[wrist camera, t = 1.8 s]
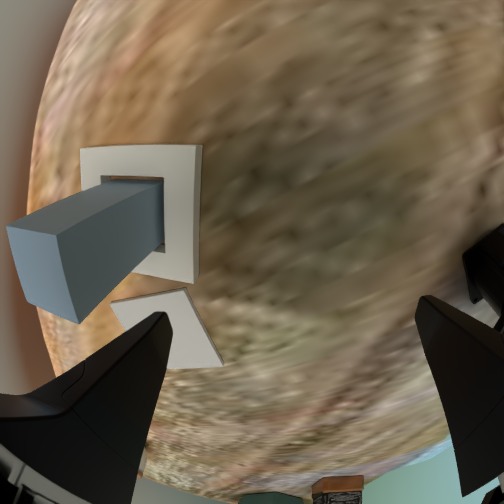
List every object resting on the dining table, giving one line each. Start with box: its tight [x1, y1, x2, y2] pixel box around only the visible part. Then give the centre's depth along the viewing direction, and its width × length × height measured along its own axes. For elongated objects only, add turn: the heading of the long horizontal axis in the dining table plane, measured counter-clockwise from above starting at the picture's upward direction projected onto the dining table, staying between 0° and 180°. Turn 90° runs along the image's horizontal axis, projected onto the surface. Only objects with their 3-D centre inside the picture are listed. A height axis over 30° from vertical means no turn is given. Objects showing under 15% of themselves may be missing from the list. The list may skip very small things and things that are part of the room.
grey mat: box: [110, 288, 224, 369], centre depth 27 cm, size 10×10×1 cm
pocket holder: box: [80, 144, 203, 284], centre depth 21 cm, size 11×11×2 cm
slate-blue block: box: [6, 179, 165, 324], centre depth 16 cm, size 5×5×12 cm
